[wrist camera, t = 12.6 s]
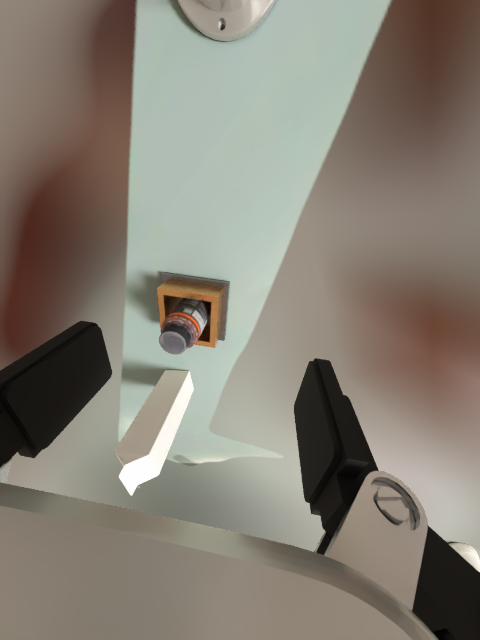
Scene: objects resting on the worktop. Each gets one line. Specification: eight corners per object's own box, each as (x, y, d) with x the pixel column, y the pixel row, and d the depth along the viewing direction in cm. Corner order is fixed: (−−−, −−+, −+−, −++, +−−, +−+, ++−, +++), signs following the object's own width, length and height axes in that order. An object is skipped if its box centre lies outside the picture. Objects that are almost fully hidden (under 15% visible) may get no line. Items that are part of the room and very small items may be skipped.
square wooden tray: (163, 272, 38) (150, 281, 34) (229, 281, 37) (224, 292, 33) (168, 328, 44) (156, 342, 39) (225, 337, 43) (220, 352, 39)
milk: (189, 370, 49) (138, 477, 30) (194, 389, 52) (150, 498, 32) (164, 369, 50) (99, 474, 30) (170, 388, 52) (114, 494, 33)
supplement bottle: (185, 324, 41) (159, 361, 32) (176, 296, 39) (144, 327, 29) (214, 320, 40) (197, 358, 30) (206, 291, 38) (184, 323, 28)
